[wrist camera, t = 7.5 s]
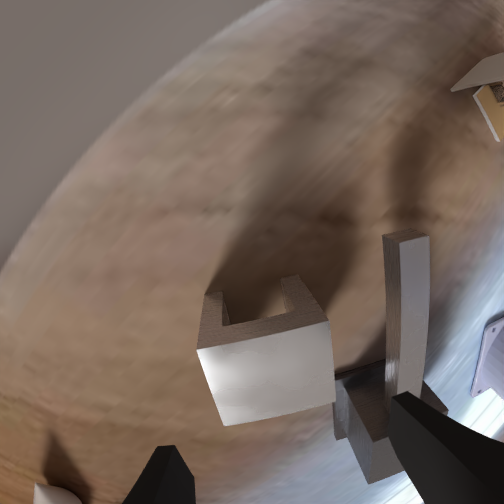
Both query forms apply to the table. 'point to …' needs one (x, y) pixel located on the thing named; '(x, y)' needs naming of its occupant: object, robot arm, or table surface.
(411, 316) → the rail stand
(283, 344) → the bracket
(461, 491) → the robot arm
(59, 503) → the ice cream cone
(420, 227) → the table surface
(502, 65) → the architectural model
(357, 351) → the table surface
